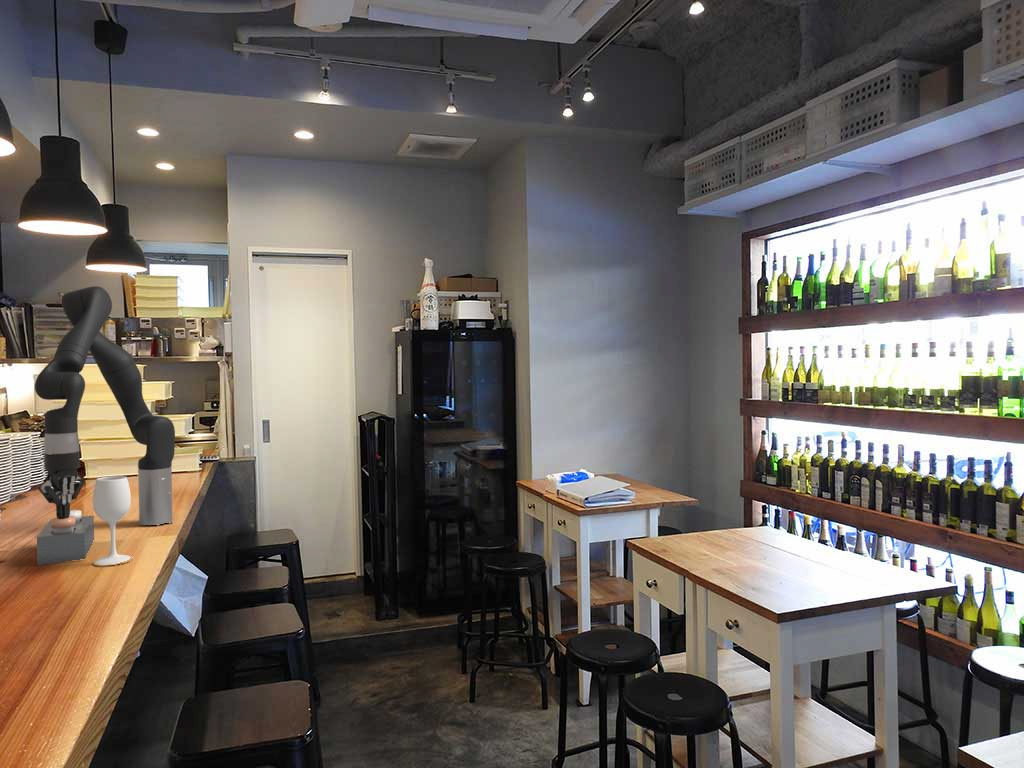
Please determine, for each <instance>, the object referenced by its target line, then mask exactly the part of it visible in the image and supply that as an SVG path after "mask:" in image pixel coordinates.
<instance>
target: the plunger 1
mask: <svg viewBox="0 0 1024 768" xmlns="http://www.w3.org/2000/svg"><path fill="white" fill-rule="evenodd" d="M50 520H51V527H52V528H53V534H54V533H66V532H74V526H75V525H76V517H74V516H69V518H66V519H58V518H57V517H53V518H50Z"/></svg>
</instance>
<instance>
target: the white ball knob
mask: <svg viewBox="0 0 1024 768" xmlns="http://www.w3.org/2000/svg"><path fill="white" fill-rule="evenodd" d="M82 515H83V514H82V510H80V509H70V515H69V516H74V517H76V522H80V519H82Z"/></svg>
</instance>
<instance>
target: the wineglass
mask: <svg viewBox="0 0 1024 768" xmlns="http://www.w3.org/2000/svg"><path fill="white" fill-rule="evenodd" d="M128 480H129V479H128V477H127V476H124V475H113V476H112V475H111V476H104V477H98V478H97V479H95V484H94V488H93V495H92V496H93V497H92V505H93V511H94V513H95V515H96V516H97V517H98V518H99V519H100V520H102V521H104V522H106V523H107V524H108V525H109V531H110V550H109V554H108V555H107V556H103V557H101V558H98V559H96V560H95V561H93V563H95V564H99V565H108V564H116V563H120V562H124V561H127V560H129V559H130V558H131V557H132V556H131V557H130V555H127V554H118V552H117V548H116V525H117V523H118V522H119V521H120V520H122V519H123V518H125V516H126V515H127V514H128V512H129V511H130V509H131V503H132V500H131V499H132V497H131V496H132V495H131V494H132V493H131V489H130V483H129V481H128Z"/></svg>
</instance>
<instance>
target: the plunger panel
mask: <svg viewBox="0 0 1024 768" xmlns="http://www.w3.org/2000/svg"><path fill="white" fill-rule="evenodd" d="M94 520H95V516H94V515H84V516H82V519H80V522H76V525H75V526H74V532H66V533H54V534H53V528H52V527H51V519H50V520H49V521H48V523H47V524H46V525H45V527H44V528H42V530H41V531H40V533H38V535H37V536H36V553H37V554H36V558H37V559H36V560H37V561H36V563H37V566H46V564H47V565H53V564H52V563H57V564H61V563H60V562H66V561H72V560H80V559H85V558H86V559H87V557H86V555H87V553H88V551H89V549H90V547H91V548H92V546H93V544H94V542H93V540H94V541H95V521H94ZM92 543H93V544H92ZM91 545H92V546H91ZM90 550H91V549H90ZM89 552H90V551H89ZM88 554H89V553H88ZM87 556H88V555H87ZM86 559H85V560H86ZM66 563H67V562H66Z"/></svg>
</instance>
